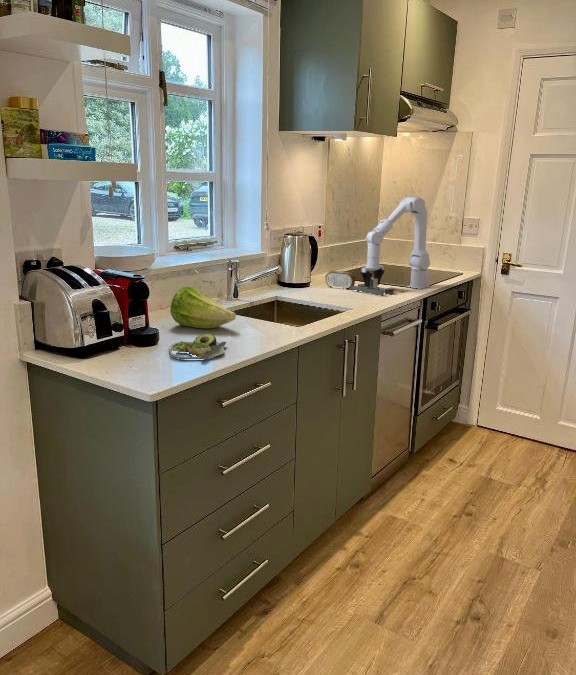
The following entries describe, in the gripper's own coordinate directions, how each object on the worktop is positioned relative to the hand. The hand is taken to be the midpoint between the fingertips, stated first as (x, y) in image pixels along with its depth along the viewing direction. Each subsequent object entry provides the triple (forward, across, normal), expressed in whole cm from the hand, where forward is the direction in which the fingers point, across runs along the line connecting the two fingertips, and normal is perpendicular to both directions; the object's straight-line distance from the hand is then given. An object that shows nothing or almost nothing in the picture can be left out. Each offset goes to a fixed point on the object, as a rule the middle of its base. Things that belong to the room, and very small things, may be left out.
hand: (372, 286), depth 275 cm
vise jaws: (+2, +3, +2) cm, 4 cm away
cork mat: (+2, -9, +7) cm, 12 cm away
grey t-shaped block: (+2, 0, +2) cm, 3 cm away
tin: (+3, +6, -15) cm, 16 cm away
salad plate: (+3, +120, +24) cm, 122 cm away
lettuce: (+3, +100, +2) cm, 100 cm away
